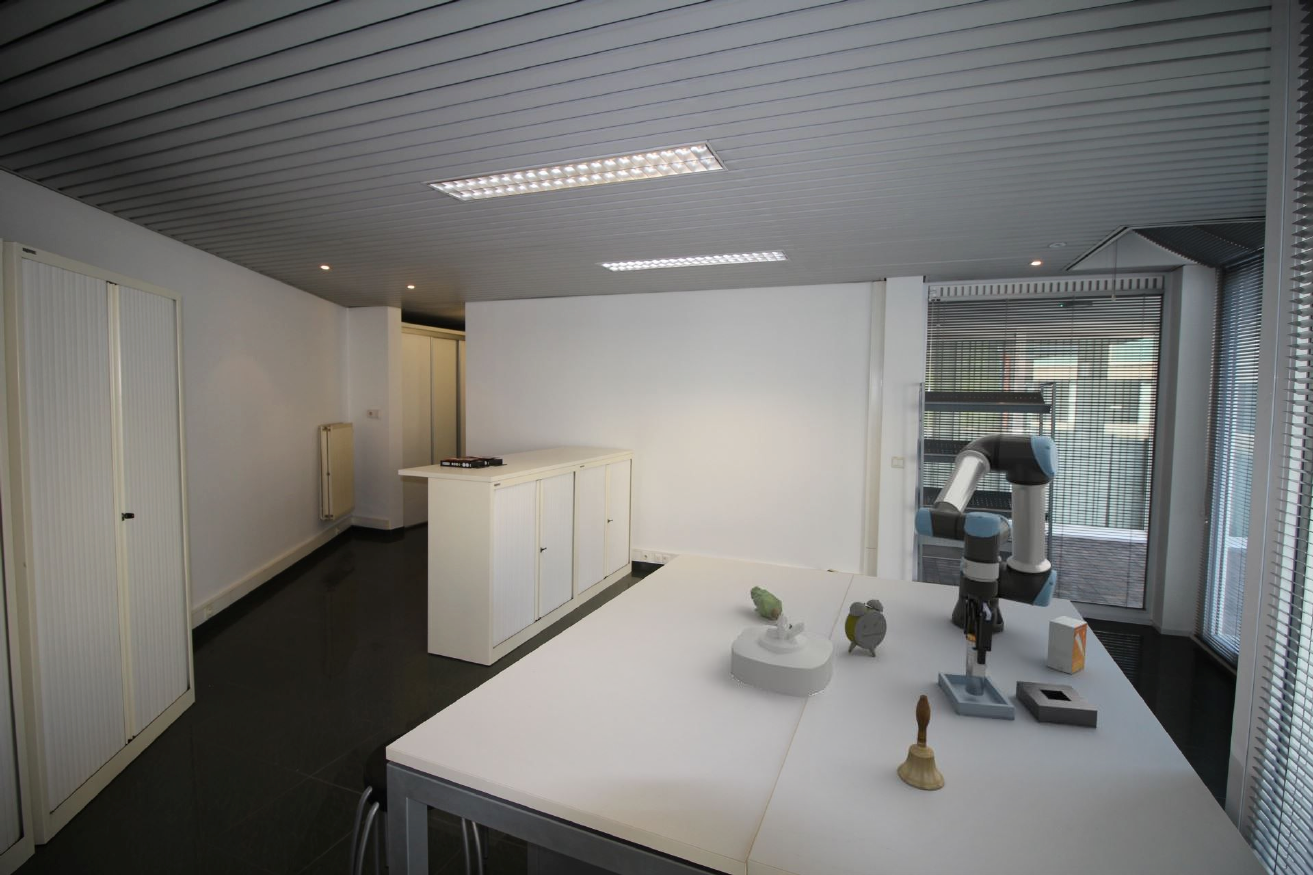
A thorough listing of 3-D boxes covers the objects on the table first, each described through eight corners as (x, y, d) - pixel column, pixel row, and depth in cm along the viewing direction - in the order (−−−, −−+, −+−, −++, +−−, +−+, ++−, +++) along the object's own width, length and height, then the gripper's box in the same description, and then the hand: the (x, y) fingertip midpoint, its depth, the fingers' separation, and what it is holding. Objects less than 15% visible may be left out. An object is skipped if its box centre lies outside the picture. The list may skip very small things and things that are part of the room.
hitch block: (1015, 696, 148) (1016, 680, 148) (1068, 701, 146) (1069, 685, 146) (1038, 722, 136) (1039, 705, 136) (1096, 727, 134) (1097, 710, 134)
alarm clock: (873, 645, 178) (875, 595, 177) (890, 654, 172) (892, 603, 171) (842, 650, 174) (844, 600, 173) (858, 660, 167) (860, 608, 166)
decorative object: (806, 627, 189) (769, 588, 212) (790, 610, 185) (755, 572, 208) (785, 646, 189) (751, 605, 212) (769, 629, 185) (736, 589, 208)
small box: (1071, 675, 160) (1074, 627, 159) (1046, 666, 165) (1048, 620, 165) (1085, 668, 165) (1087, 621, 164) (1059, 659, 170) (1062, 614, 169)
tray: (938, 682, 155) (938, 671, 154) (987, 687, 153) (988, 675, 152) (958, 714, 139) (959, 702, 139) (1014, 720, 137) (1015, 707, 137)
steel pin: (979, 688, 147) (982, 633, 146) (986, 696, 143) (988, 639, 142) (962, 687, 148) (965, 632, 147) (968, 695, 144) (971, 638, 143)
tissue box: (837, 663, 166) (839, 606, 165) (819, 703, 144) (821, 638, 143) (751, 645, 177) (752, 592, 176) (721, 680, 155) (723, 620, 154)
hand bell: (889, 764, 119) (893, 687, 118) (929, 762, 120) (932, 685, 119) (911, 791, 111) (914, 708, 110) (953, 789, 112) (957, 707, 111)
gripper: (952, 566, 153) (947, 655, 154) (976, 586, 136) (971, 686, 137) (983, 568, 152) (979, 657, 153) (1011, 589, 135) (1006, 689, 136)
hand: (975, 671), depth 145 cm, fingers closed on steel pin, 4 cm apart
